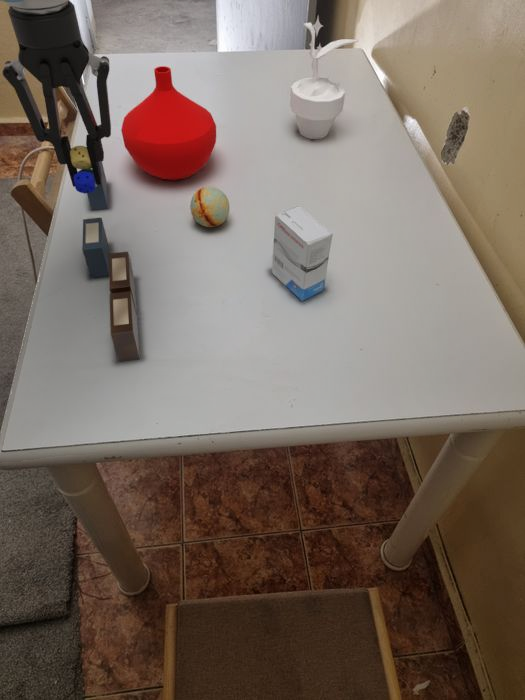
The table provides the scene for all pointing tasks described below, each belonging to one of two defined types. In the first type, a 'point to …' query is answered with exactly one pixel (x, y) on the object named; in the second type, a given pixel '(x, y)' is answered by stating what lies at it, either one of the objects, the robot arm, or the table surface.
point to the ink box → (300, 252)
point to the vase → (169, 132)
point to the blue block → (96, 233)
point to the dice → (82, 170)
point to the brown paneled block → (123, 307)
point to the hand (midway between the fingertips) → (87, 180)
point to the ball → (209, 206)
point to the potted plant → (317, 93)
